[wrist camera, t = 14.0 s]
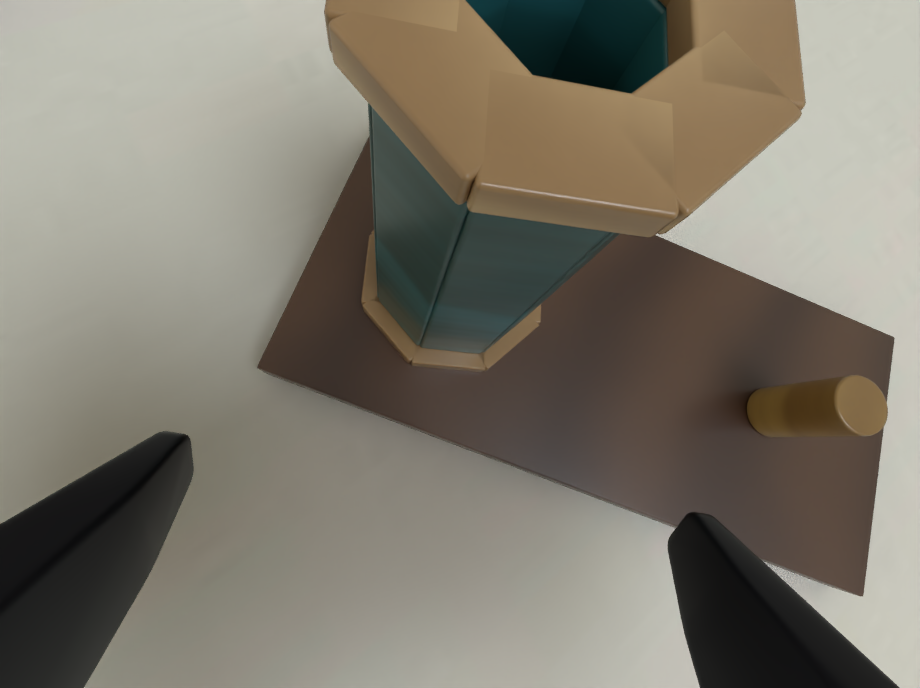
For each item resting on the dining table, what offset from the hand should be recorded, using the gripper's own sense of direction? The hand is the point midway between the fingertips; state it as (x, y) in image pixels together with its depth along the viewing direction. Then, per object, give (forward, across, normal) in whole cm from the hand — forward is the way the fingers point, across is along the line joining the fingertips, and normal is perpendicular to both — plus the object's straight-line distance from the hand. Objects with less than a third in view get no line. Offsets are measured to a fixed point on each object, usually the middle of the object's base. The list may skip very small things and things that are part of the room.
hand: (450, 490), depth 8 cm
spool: (+9, 0, 0) cm, 9 cm away
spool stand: (+9, -6, +2) cm, 11 cm away
